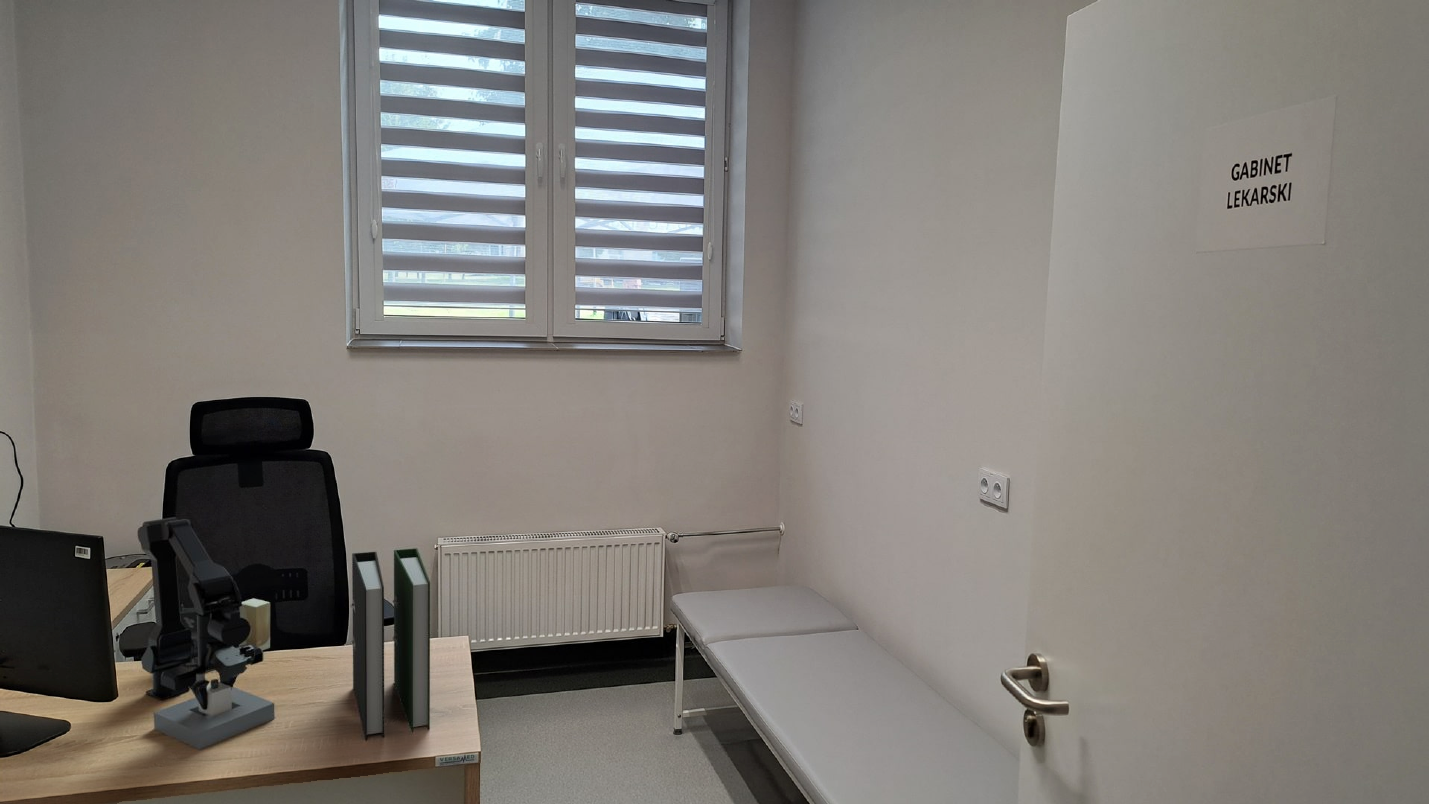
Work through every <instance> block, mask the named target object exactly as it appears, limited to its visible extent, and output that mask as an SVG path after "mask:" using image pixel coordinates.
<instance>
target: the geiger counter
mask: <svg viewBox="0 0 1429 804" xmlns="http://www.w3.org/2000/svg"><path fill="white" fill-rule="evenodd" d="M218 602H222V600H220V601H218ZM180 616H181V622H182V623H183V625H184V626H185V627H186V628H187V629H189V630H190V631H191V638H192V640H193V642H194V638H197V610H196V609H194V607H188V608H186V607H184V604H183V603H182V604H181V605H180ZM195 657H198V645H197V644H194V652H193V658H192V663H187V664H183V665H182V666H184V667H187V668H193V667H196V666H198V664H197V663H195V662H194V658H195Z"/></svg>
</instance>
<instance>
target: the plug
mask: <svg viewBox="0 0 1429 804" xmlns="http://www.w3.org/2000/svg"><path fill="white" fill-rule="evenodd" d="M207 702H208V703H207V709H206V710H204V709H202V707H201V706H200V704H199V711H200V712H202V713H205V714H207V715H209V716H212V717H213V716H216V715H218V714H221V713H223V712H226V711H229V710H231V709H232V701H231V687H230V686H228V685H225V684H223V683H220V681H219V679H218V678H215V679H214V678H213V679H211V680H210V683H209V684H208V685H207Z"/></svg>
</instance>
